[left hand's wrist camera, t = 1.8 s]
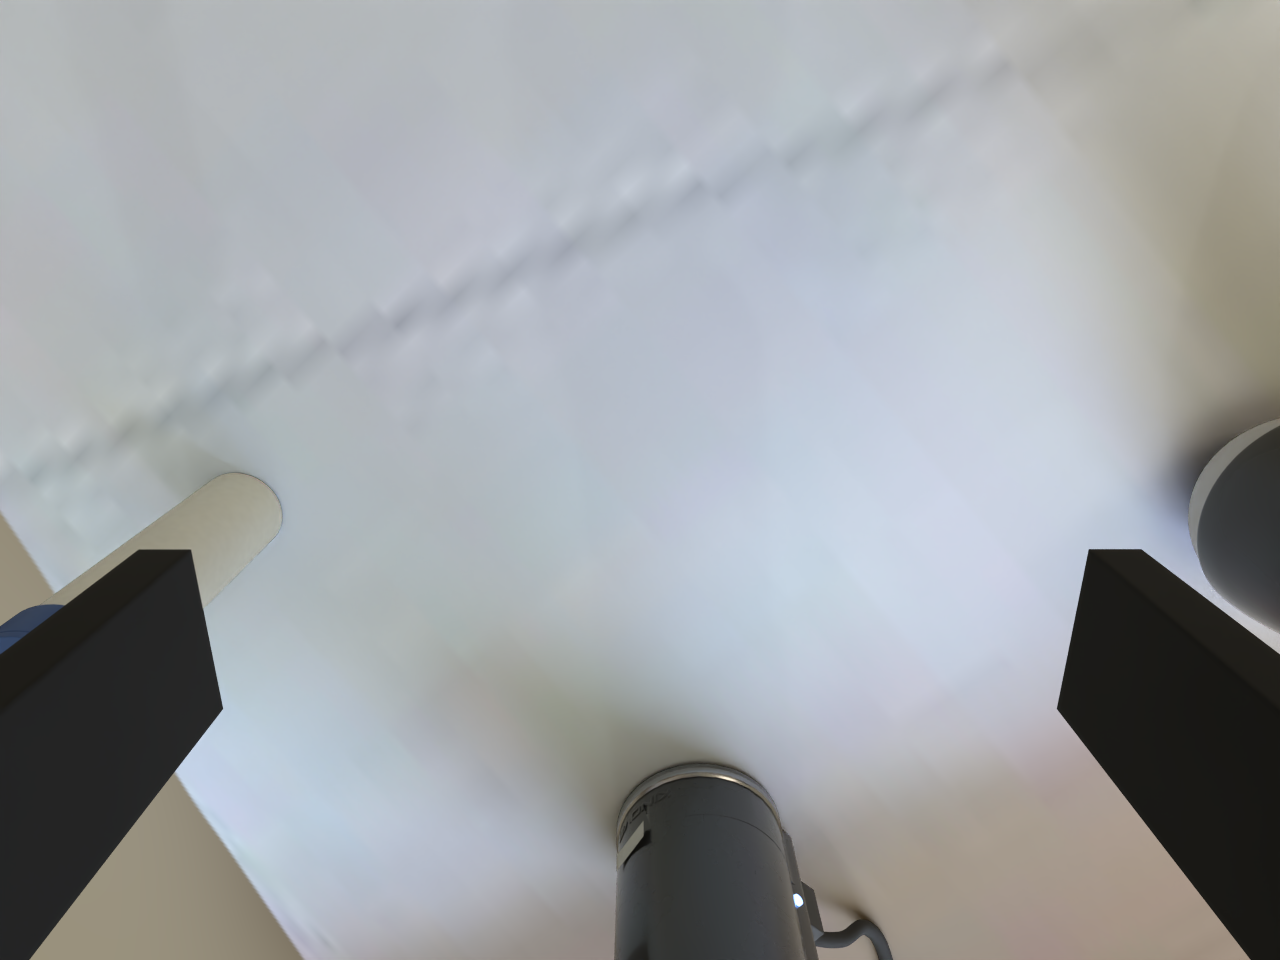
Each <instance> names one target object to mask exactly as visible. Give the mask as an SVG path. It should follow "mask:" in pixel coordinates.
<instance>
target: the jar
mask: <svg viewBox="0 0 1280 960" xmlns="http://www.w3.org/2000/svg"><path fill="white" fill-rule="evenodd" d="M281 524H282V510H281V506H280V503H279V501H278V499H277V497H276V495H275V494H274V492H273V491H272V490H271V489H270V488H269V487H268V486H267V485H266V484H265V483H263V482H262V481H260V480H259V479H257V478H255V477H252V476H249V475H246V474H241V473H228V474H223V475H220V476H218V477H216V478H214V479H213V480H211V481H210V482H208V483H207V484H206V485H204V486H203V487H202V488H200V489H199V490H197V491H196V492H195V493H193V494H192V495H190V496H189V497H188V498H186V499H185V500H184V501H182V502H181V503H179V504H178V505H177V506H175V507H174V508H173V509H171V510H170V511H168V512H167V513H166V514H164V515H163V516H162V517H160V518H159V519H157V520H156V521H155V522H153V523H152V524H151V525H149V526H148V527H146V528H145V529H144V530H142V531H141V532H140V533H138V534H137V535H135V536H134V537H133V538H131V539H130V540H129V541H127V542H126V543H124V544H123V545H122V546H120V547H119V548H117V549H116V550H115V551H113V552H112V553H111V554H109V555H108V556H106V557H105V558H104V559H102V560H101V561H100V562H98V563H97V564H95V565H94V566H93V567H91V568H90V569H89V570H87V571H86V572H84V573H83V574H82V575H80V576H79V577H78V578H76V579H75V580H73V581H72V582H71V583H69V584H68V585H67V586H65V587H64V588H62V589H61V590H60V591H58V592H57V593H56V594H54V595H53V596H51V597H50V598H49V599H47V600H46V601H44V602H43V603H42V604H40V605H45V604H58V605H66V604H67V603H69V602H70V601H71V600H73V599H74V598H75V597H77V596H78V595H79V594H81V593H82V592H83V591H84V590H86V589H87V588H88V587H90V586H91V585H92V584H94V583H95V582H96V581H98V580H99V579H100V578H102V577H103V576H104V575H106V574H107V573H108V572H110V571H111V570H112V569H113V568H115V567H116V566H117V565H119V564H120V563H121V562H123V561H124V560H125V559H127V558H128V557H129V556H131V555H132V554H133V553H135V552H136V551H137V550H139V549H191V551H192V556H193V561H194V566H195V571H196V576H197V581H198V586H199V591H200V596H201V601H202V606H203V609H204V608H205V607H206V606H207V605H208V604H209V603H210V602H211V601H212V600H213V599H214V598H215V597H216V596H217V595H218V594H219V593H220V592H221V591H222V590H223V589H224V588H225V587H226V586H227V585H228V584H229V583H230V582H231V581H232V580H233V579H234V578H235V577H236V576H237V575H238V574H239V573H240V572H241V571H242V570H243V569H244V568H245V567H246V566H247V565H248V564H249V563H250V562H251V561H252V560H253V559H254V558H255V557H256V556H257V555H258V554H259V553H260V552H261V551H262V550H263V549H264V548H265V547H266V546H267V545H268V544H269V543H270V542H271V541H272V540H273V539H274V537H275V536H276V535H277V533H278V532H279V530H280V527H281Z"/></svg>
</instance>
